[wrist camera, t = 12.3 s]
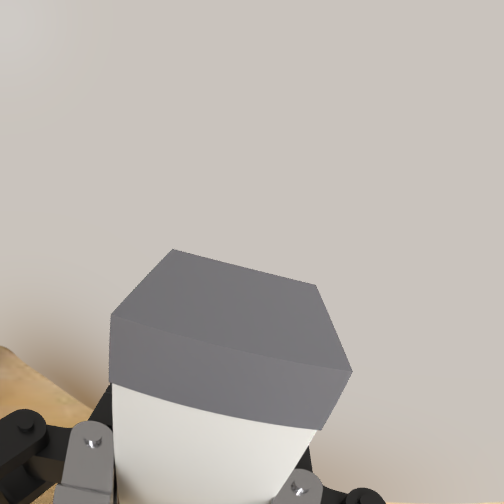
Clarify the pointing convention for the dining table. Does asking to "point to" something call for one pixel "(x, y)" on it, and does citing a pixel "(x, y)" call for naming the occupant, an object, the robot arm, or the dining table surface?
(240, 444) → the grey-capped white post
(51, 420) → the dining table surface
